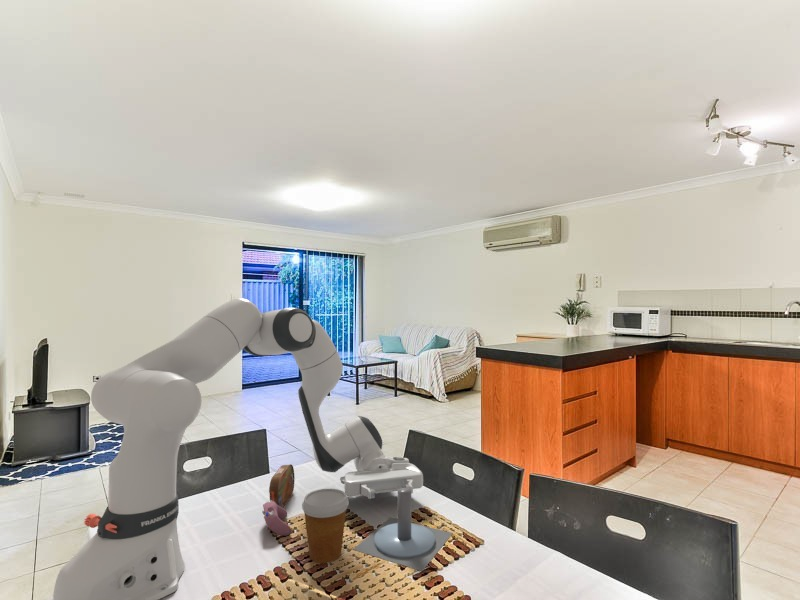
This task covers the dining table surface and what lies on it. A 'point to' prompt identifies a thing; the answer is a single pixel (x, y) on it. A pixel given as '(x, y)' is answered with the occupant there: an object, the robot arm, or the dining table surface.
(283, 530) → the video game controller
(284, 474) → the tin
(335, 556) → the disposable coffee cup
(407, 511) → the lid
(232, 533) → the dining table surface
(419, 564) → the mat
